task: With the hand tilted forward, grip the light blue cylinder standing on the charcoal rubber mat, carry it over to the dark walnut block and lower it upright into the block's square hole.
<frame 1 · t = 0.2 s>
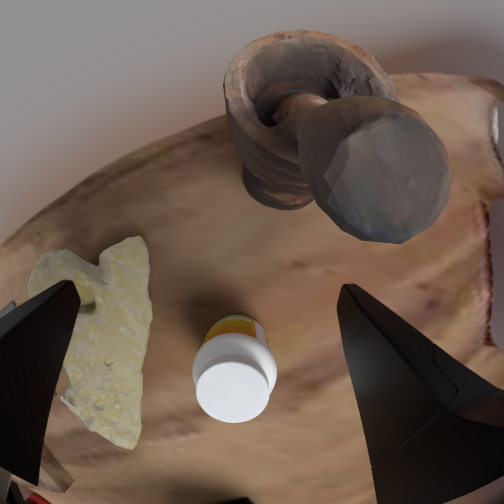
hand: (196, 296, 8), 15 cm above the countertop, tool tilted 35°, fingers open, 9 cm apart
supplement bottle: (237, 343, 23), on the countertop
block: (28, 448, 21), on the countertop
cream lumpy knobby chunk: (131, 331, 23), on the countertop
mortar and pestle: (287, 189, 24), on the countertop
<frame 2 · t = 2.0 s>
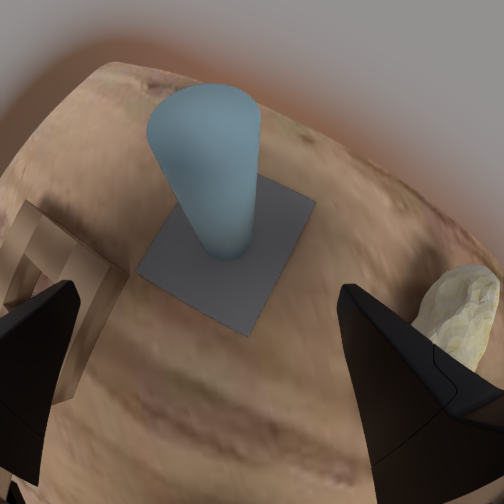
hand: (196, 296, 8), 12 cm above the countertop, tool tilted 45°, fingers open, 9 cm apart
block: (49, 300, 20), on the countertop
light blue cylinder: (226, 235, 21), resting on mat
cream lumpy knobby chunk: (420, 373, 19), on the countertop
mat: (227, 236, 21), on the countertop
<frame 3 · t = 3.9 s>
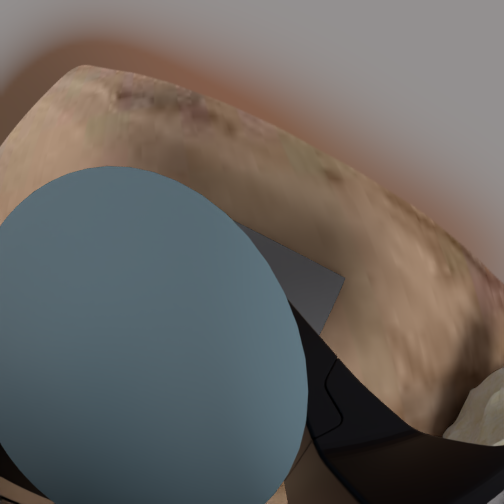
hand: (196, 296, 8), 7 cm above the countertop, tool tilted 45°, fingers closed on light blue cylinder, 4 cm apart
light blue cylinder: (218, 332, 14), resting on mat, touching gripper
cream lumpy knobby chunk: (452, 457, 12), on the countertop
mat: (219, 332, 15), on the countertop
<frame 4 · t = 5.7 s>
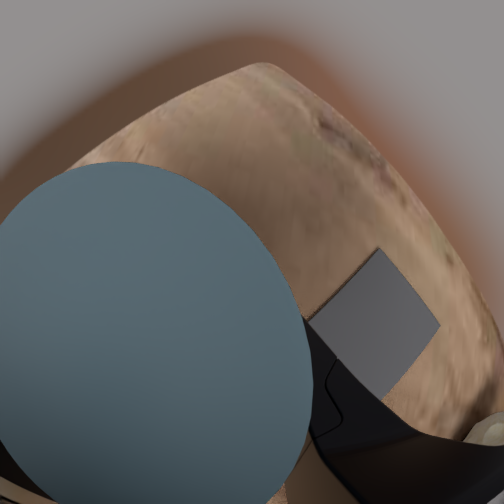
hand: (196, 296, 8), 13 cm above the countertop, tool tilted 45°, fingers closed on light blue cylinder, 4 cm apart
light blue cylinder: (219, 331, 14), point 7 cm above the countertop, touching gripper
cream lumpy knobby chunk: (451, 469, 17), on the countertop
mat: (370, 337, 21), on the countertop
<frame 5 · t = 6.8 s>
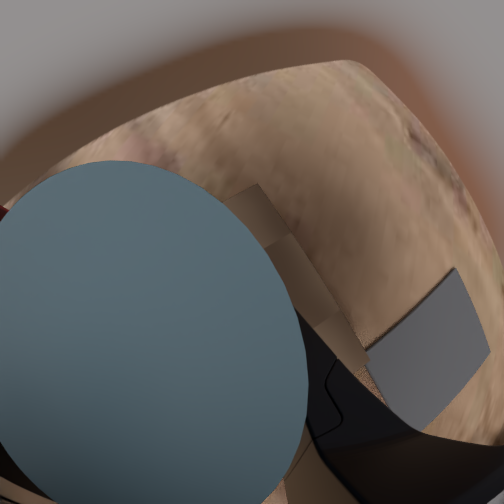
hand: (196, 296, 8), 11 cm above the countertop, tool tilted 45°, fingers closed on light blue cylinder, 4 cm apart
block: (224, 328, 18), on the countertop
light blue cylinder: (218, 331, 14), point 4 cm above the countertop, touching gripper
mat: (437, 355, 18), on the countertop
when the fingers open (8 cm above the countertop, at t = 7.6 s): light blue cylinder drops 2 cm, resting in block.
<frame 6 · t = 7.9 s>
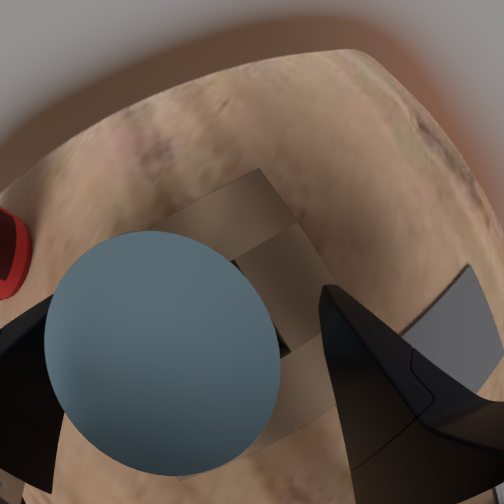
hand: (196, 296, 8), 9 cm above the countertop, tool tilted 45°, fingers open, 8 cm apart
canned food: (9, 259, 17), on the countertop
block: (221, 331, 16), on the countertop
light blue cylinder: (221, 331, 16), resting in block
mat: (452, 358, 16), on the countertop
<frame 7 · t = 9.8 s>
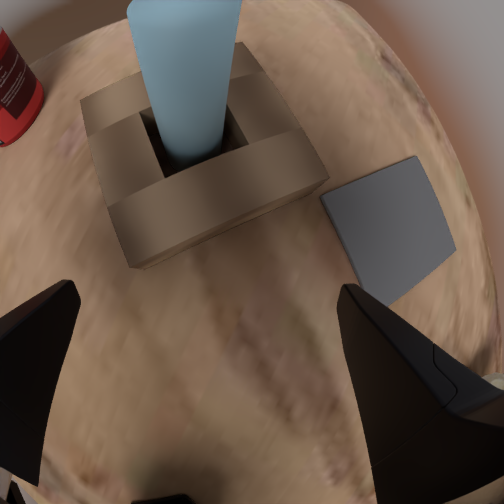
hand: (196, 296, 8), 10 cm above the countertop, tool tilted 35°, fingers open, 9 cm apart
canned food: (17, 116, 17), on the countertop
block: (193, 149, 19), on the countertop
light blue cylinder: (193, 149, 19), resting in block
mat: (400, 226, 21), on the countertop
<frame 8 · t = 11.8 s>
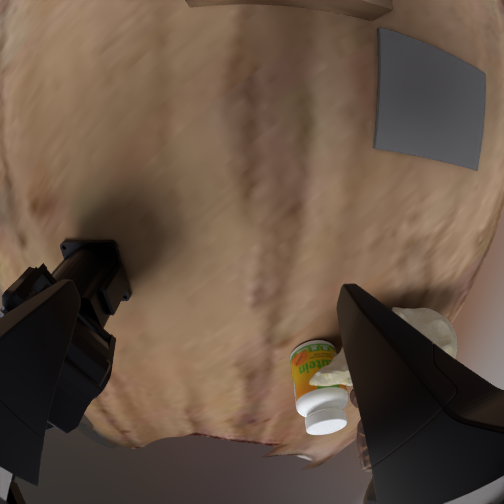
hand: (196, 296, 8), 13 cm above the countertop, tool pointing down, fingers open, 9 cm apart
supplement bottle: (312, 352, 30), on the countertop, touching cream lumpy knobby chunk
cream lumpy knobby chunk: (368, 329, 28), on the countertop, touching supplement bottle
mat: (438, 103, 16), on the countertop
mortar and pestle: (363, 387, 35), on the countertop
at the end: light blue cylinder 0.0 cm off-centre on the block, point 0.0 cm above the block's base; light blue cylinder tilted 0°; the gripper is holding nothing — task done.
